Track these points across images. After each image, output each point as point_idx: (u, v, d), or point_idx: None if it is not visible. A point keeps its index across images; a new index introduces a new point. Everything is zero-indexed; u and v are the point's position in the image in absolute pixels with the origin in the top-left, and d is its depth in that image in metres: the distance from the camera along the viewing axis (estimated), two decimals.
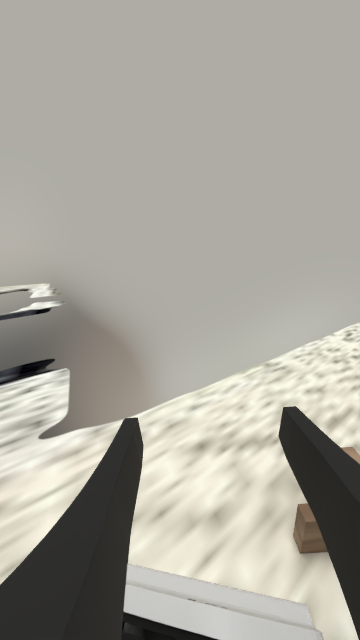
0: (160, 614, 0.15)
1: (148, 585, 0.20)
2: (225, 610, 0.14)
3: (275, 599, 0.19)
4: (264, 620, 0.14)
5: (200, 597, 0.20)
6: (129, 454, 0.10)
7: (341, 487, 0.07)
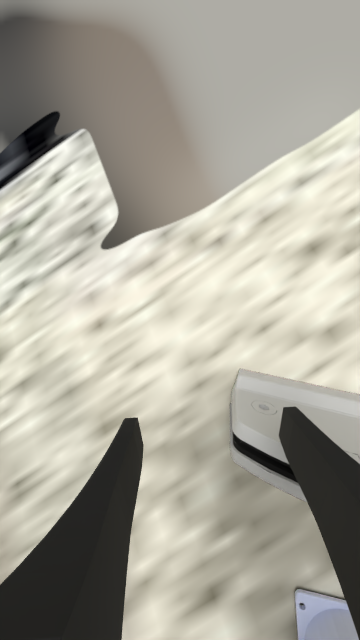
0: None
1: (263, 394, 0.23)
2: None
3: None
4: None
5: (315, 406, 0.21)
6: (129, 454, 0.10)
7: (341, 487, 0.07)
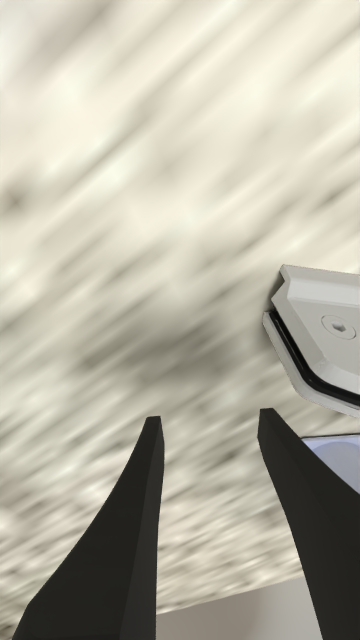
0: None
1: (324, 302, 0.17)
2: None
3: None
4: None
5: None
6: (156, 452, 0.10)
7: (307, 489, 0.08)
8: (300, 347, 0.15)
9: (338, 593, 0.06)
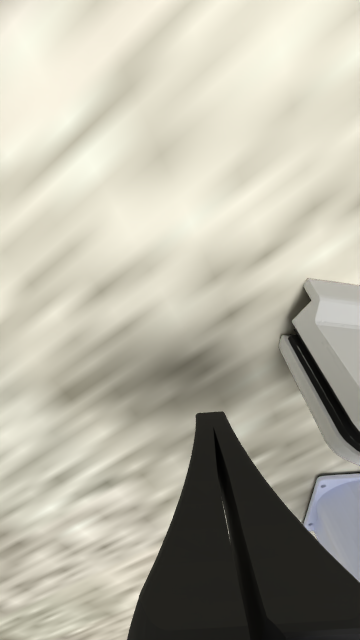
0: None
1: None
2: None
3: None
4: None
5: None
6: None
7: (233, 494, 0.08)
8: (336, 391, 0.11)
9: (248, 599, 0.06)
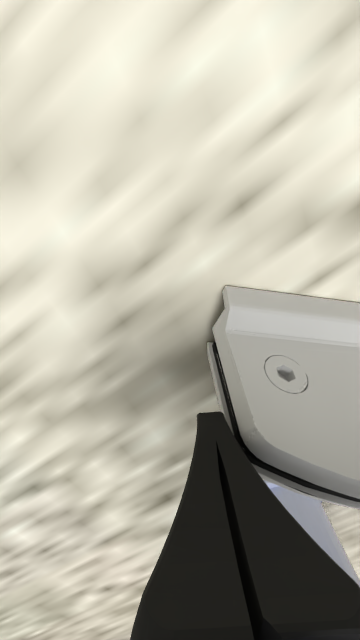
0: None
1: (274, 336, 0.13)
2: None
3: None
4: None
5: (350, 343, 0.13)
6: None
7: (230, 494, 0.08)
8: (233, 402, 0.11)
9: (245, 599, 0.06)
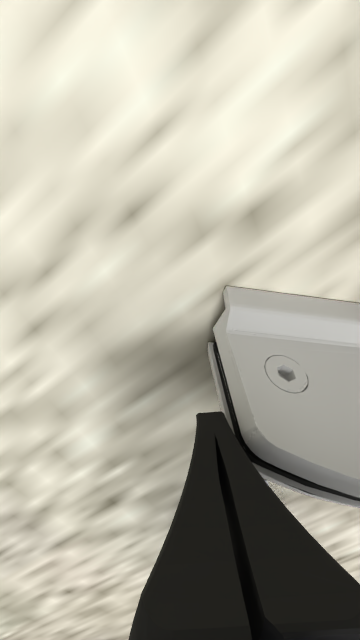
0: None
1: (274, 336, 0.13)
2: None
3: None
4: None
5: (350, 343, 0.13)
6: None
7: (231, 494, 0.08)
8: (233, 402, 0.11)
9: (246, 599, 0.06)
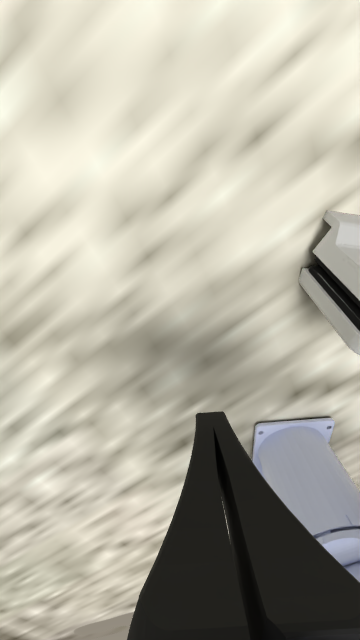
0: None
1: None
2: None
3: None
4: None
5: None
6: None
7: (232, 494, 0.08)
8: (358, 295, 0.13)
9: (248, 599, 0.06)
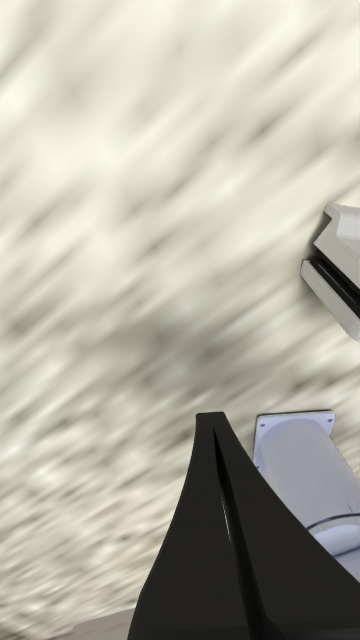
0: None
1: None
2: None
3: None
4: None
5: None
6: None
7: (232, 494, 0.08)
8: (358, 283, 0.13)
9: (248, 599, 0.06)
